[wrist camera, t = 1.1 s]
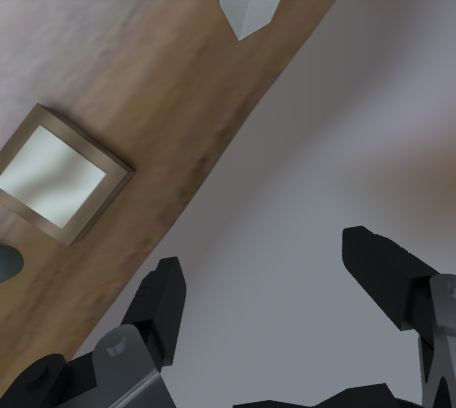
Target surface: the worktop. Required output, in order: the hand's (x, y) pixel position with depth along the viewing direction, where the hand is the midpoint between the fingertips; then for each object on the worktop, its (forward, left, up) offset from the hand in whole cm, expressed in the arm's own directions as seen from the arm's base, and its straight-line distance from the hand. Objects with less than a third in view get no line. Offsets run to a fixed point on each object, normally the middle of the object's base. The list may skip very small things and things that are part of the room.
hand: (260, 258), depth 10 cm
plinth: (-20, -12, -27) cm, 36 cm away
